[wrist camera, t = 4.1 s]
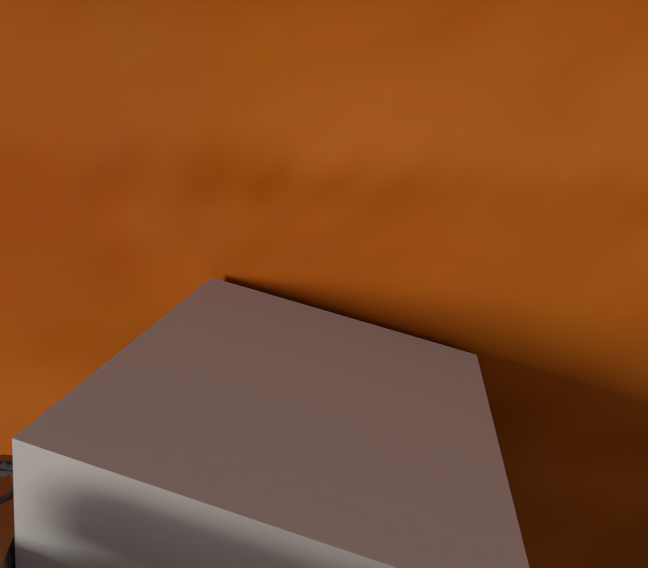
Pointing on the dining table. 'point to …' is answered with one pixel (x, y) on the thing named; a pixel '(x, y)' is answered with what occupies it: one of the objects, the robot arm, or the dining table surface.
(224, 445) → the knob
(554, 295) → the dining table surface
